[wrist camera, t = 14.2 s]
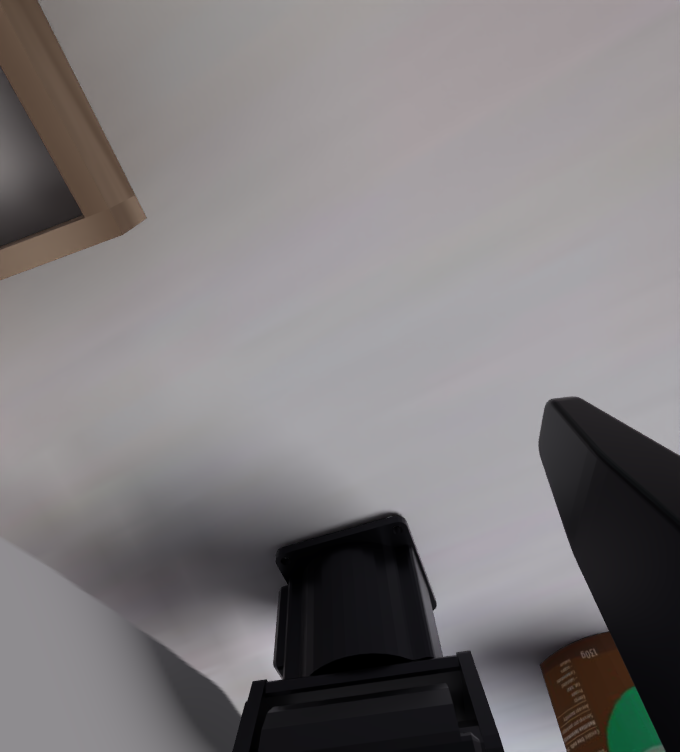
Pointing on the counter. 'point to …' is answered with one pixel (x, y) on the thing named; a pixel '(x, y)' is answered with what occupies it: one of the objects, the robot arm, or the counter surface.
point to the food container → (597, 699)
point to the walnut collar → (61, 142)
